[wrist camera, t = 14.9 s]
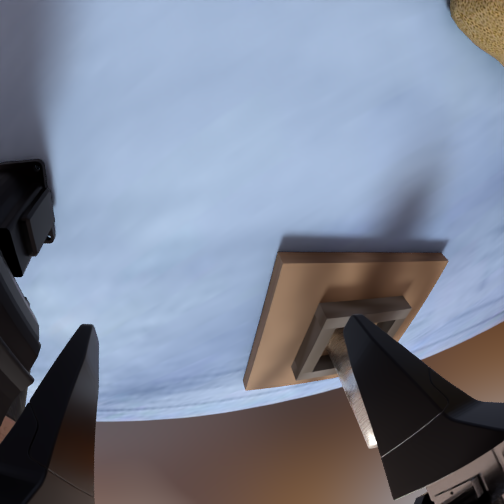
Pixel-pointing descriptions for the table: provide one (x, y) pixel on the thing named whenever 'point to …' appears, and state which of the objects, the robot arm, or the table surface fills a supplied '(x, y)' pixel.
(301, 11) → the table surface
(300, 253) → the brown flat square board
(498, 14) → the decorative coral
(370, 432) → the steel cup
